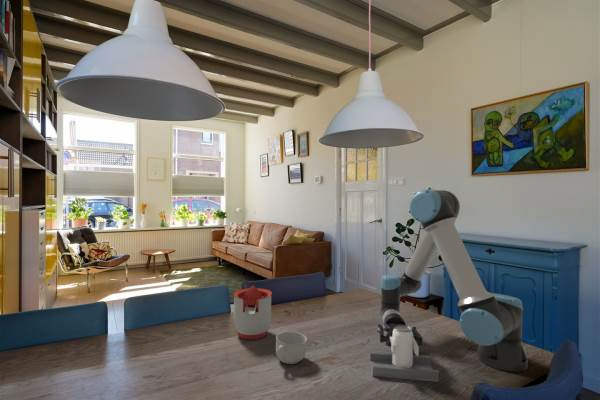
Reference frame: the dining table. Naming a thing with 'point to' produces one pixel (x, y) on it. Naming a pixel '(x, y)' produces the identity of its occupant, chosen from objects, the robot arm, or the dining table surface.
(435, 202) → the robot arm
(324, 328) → the dining table surface
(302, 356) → the teacup
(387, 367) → the tray
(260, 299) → the citrus juicer
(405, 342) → the can
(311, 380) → the dining table surface
